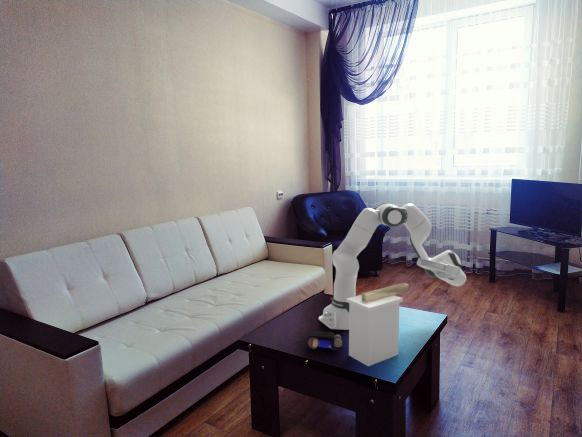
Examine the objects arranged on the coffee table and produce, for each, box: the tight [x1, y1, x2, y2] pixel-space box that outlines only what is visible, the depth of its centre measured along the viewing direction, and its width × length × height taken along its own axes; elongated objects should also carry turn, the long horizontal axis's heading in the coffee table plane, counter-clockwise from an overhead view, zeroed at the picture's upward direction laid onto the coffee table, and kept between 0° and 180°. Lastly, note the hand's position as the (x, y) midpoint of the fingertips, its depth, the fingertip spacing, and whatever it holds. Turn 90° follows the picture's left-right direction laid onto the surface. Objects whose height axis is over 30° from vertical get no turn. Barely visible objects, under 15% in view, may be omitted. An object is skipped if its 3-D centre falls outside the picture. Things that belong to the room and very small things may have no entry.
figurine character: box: [307, 330, 343, 351], centre depth 193 cm, size 7×8×15 cm
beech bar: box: [361, 282, 410, 302], centre depth 185 cm, size 3×26×3 cm, turn 124°
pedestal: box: [346, 294, 404, 367], centre depth 184 cm, size 14×20×26 cm
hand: (427, 261), depth 199 cm, fingers open, 8 cm apart
